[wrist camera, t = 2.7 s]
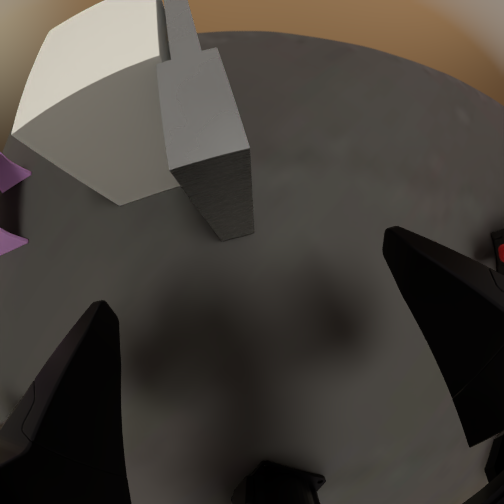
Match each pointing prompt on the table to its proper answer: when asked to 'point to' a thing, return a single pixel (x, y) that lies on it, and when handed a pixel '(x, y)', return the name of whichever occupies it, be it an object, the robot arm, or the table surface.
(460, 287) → the robot arm
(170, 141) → the silver metal panel
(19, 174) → the toy chair
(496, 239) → the game console
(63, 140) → the white box
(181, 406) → the table surface
